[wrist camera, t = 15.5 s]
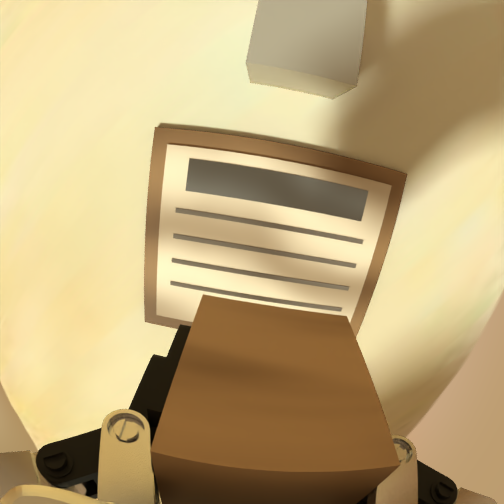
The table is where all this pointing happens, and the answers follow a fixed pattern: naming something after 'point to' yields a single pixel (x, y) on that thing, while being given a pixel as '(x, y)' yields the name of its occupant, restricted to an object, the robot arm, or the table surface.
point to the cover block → (307, 45)
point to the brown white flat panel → (263, 226)
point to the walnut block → (270, 411)
